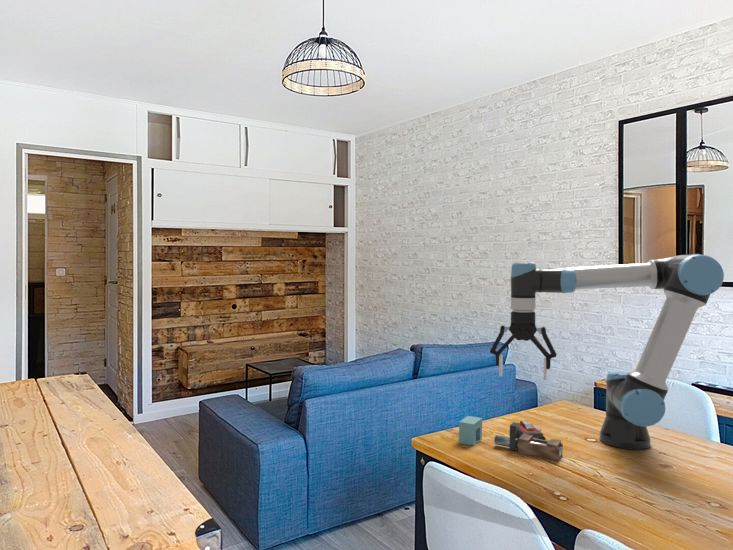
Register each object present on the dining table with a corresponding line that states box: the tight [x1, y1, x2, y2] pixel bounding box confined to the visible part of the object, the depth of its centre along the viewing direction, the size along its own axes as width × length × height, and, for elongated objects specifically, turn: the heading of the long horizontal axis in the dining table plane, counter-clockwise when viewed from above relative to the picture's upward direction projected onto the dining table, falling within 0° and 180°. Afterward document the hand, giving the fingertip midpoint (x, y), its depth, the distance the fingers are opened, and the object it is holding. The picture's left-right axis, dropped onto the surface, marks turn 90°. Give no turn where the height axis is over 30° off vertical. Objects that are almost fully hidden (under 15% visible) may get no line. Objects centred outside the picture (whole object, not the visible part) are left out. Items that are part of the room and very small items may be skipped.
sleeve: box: [517, 434, 564, 462], centre depth 164 cm, size 12×6×5 cm, turn 59°
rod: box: [493, 422, 563, 458], centre depth 166 cm, size 20×4×8 cm, turn 59°
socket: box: [458, 415, 483, 446], centre depth 175 cm, size 5×8×7 cm, turn 149°
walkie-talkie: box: [519, 419, 547, 440], centre depth 184 cm, size 9×4×20 cm
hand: (522, 377), depth 169 cm, fingers open, 13 cm apart
